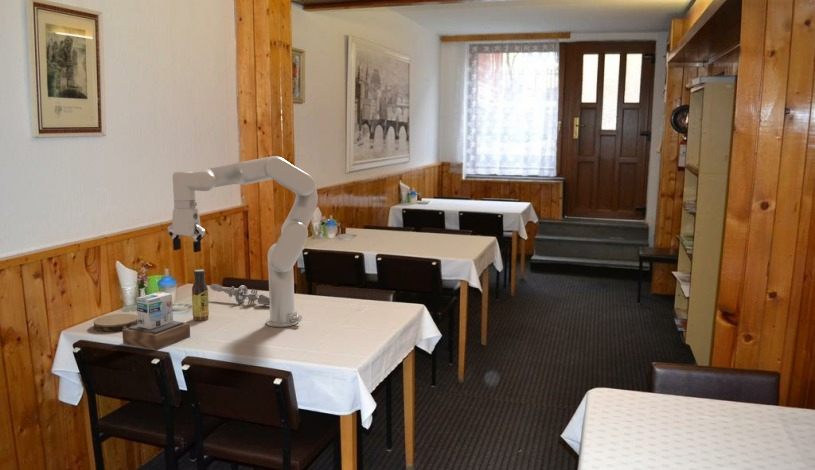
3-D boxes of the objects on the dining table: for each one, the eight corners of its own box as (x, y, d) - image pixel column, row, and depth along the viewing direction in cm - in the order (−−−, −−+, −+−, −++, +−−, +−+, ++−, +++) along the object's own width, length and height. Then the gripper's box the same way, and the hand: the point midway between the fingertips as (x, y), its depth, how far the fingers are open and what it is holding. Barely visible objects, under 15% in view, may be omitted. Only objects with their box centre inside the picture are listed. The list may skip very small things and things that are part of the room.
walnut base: (190, 336, 244) (189, 321, 243) (156, 349, 230) (155, 334, 229) (157, 330, 251) (156, 316, 250) (123, 343, 236) (122, 328, 235)
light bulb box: (149, 330, 233) (148, 300, 231) (137, 327, 236) (135, 297, 235) (174, 322, 242) (172, 293, 241) (161, 319, 246) (159, 291, 244)
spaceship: (218, 278, 302) (206, 275, 294) (281, 295, 287) (271, 292, 280) (212, 295, 300) (201, 293, 293) (276, 313, 286) (266, 310, 279)
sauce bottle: (204, 322, 262) (202, 272, 259) (189, 321, 263) (187, 271, 260) (212, 317, 268) (210, 269, 265) (198, 316, 270) (195, 268, 266)
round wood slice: (140, 319, 267) (139, 312, 266) (137, 330, 252) (137, 323, 251) (96, 322, 262) (96, 315, 261) (91, 334, 247) (90, 327, 246)
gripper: (210, 205, 245) (212, 250, 248) (174, 202, 252) (176, 247, 255) (195, 207, 238) (198, 254, 241) (159, 204, 245) (162, 250, 248)
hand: (187, 250), depth 248 cm, fingers open, 9 cm apart
